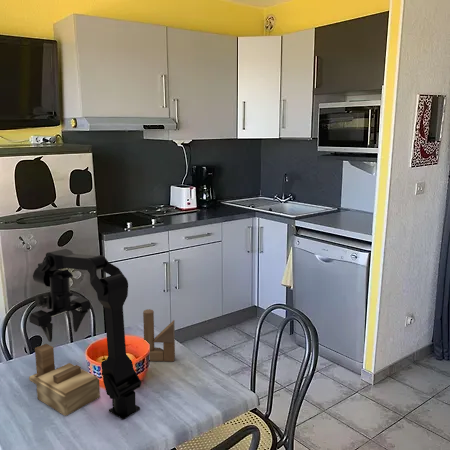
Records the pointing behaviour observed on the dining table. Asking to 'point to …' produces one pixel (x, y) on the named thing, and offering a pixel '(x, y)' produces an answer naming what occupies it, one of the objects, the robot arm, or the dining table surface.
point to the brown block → (44, 359)
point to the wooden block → (159, 338)
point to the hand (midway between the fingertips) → (63, 336)
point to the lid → (67, 379)
